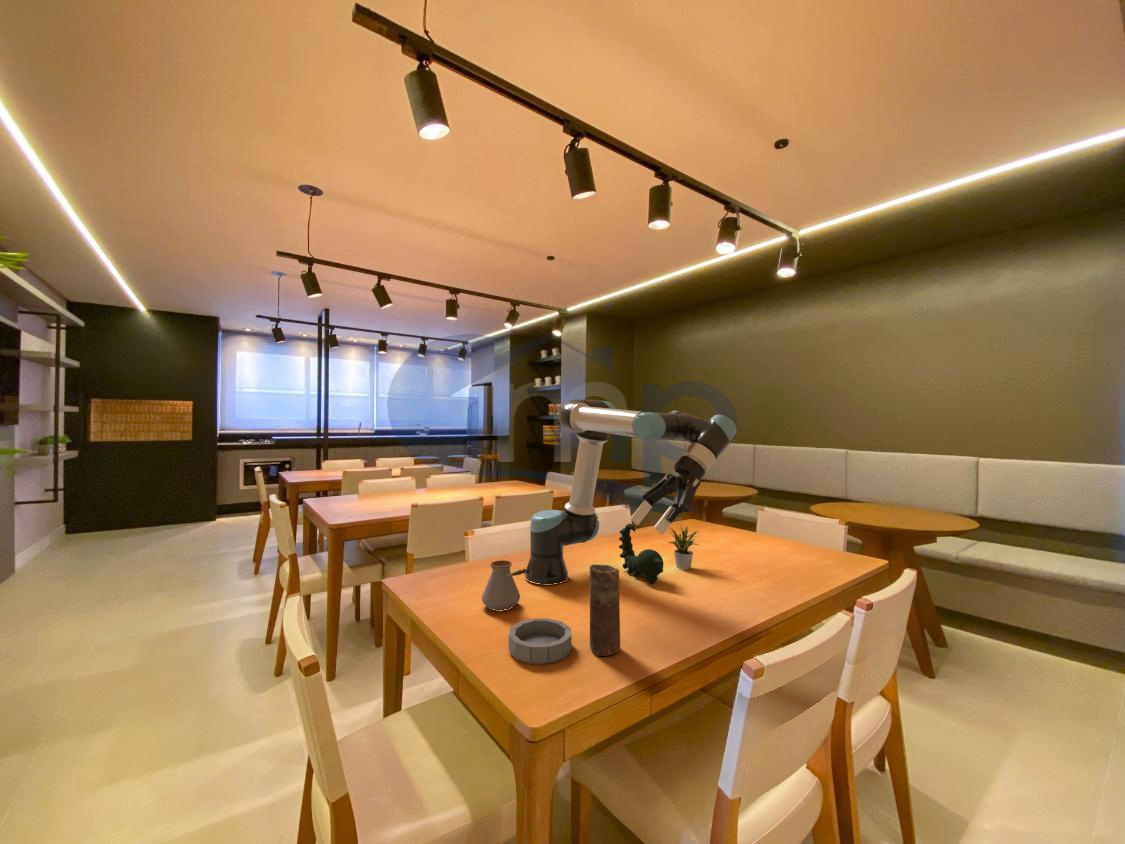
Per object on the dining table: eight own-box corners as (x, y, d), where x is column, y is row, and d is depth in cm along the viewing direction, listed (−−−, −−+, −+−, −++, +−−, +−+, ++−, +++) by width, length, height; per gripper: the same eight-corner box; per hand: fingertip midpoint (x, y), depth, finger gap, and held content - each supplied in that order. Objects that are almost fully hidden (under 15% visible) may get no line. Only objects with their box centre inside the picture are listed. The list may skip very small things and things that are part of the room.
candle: (587, 642, 111) (587, 562, 111) (616, 641, 112) (616, 561, 112) (592, 658, 104) (592, 572, 104) (623, 657, 104) (623, 571, 104)
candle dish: (496, 654, 105) (496, 637, 105) (530, 629, 118) (530, 614, 118) (551, 671, 98) (551, 652, 98) (581, 642, 111) (581, 626, 111)
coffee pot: (475, 604, 135) (475, 554, 135) (508, 596, 141) (508, 548, 142) (510, 630, 118) (510, 573, 118) (546, 619, 124) (546, 565, 125)
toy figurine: (614, 573, 169) (652, 589, 146) (612, 523, 171) (649, 531, 148) (635, 570, 173) (675, 585, 150) (633, 521, 174) (672, 528, 152)
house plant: (710, 575, 162) (710, 530, 163) (672, 575, 163) (672, 530, 163) (698, 563, 177) (698, 522, 177) (663, 563, 177) (663, 522, 177)
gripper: (733, 476, 107) (681, 545, 102) (678, 471, 131) (633, 527, 126) (713, 454, 105) (659, 524, 100) (661, 454, 129) (615, 510, 124)
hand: (645, 526), depth 113 cm, fingers open, 13 cm apart
